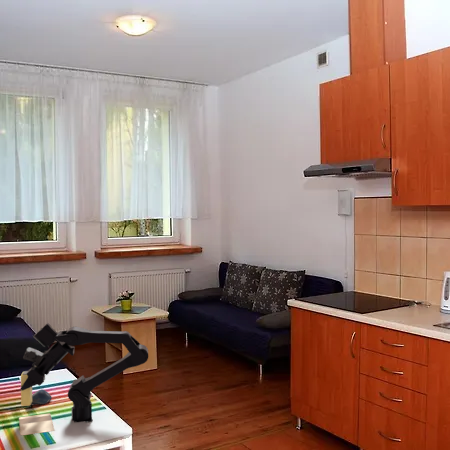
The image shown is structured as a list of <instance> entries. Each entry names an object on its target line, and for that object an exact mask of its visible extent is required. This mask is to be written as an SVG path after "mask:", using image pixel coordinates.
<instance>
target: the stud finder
mask: <svg viewBox="0 0 450 450" xmlns="http://www.w3.org/2000/svg"><path fill="white" fill-rule="evenodd" d="M28 371H29V370H25V371H22V373H21V375H20V388H21V387H22V385H23V384H24V382H25V381H26V379H27V378H28V376H27V372H28ZM32 395H33V386H32V387H30V388H27V389H25V390H21V389H20V402H21V403H20V404H21V405H20V406H21V407H26V406H28V407H29V406H32V405H31V403H32Z"/></svg>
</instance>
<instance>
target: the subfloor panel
mask: <svg viewBox="0 0 450 450" xmlns="http://www.w3.org/2000/svg"><path fill="white" fill-rule="evenodd" d="M18 421H19V429H20V430H19V432H20V436H27V435H33V434H40V433H47V432H49V433H50V432H55V431H56V430H55V427H54V423H53V420H52V415H51V413H42V414H36V415H27V416H21V417H18Z"/></svg>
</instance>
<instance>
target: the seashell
mask: <svg viewBox="0 0 450 450" xmlns="http://www.w3.org/2000/svg"><path fill="white" fill-rule="evenodd" d="M52 399H53V396H52V395H51V394H50V393H49V392H48V391H46V390H45V389H39V390H37V391H35V392H34V393H32V403H31V405H30V406H36V405H45V404H47V403H48V402H50V401H51V400H52Z"/></svg>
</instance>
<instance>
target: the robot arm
mask: <svg viewBox="0 0 450 450" xmlns="http://www.w3.org/2000/svg"><path fill="white" fill-rule="evenodd" d="M32 338H34V339H35V340H36V342H37V341H38V342H39V344H41V345H42V347H44V348H49V347H50V348H49V349H47V350H44V352H41V351H39V350H37V349H36V348H33V347H27V348H26V350H25V352H24V355H23V357H22V358H23V360H25V361H26V360H27V361H30V362H31V363H32V365H31V368H30V369H28V370H27V371H28V372H27V376H28V378H27V379H26V381H25V382H24V384H23V385H22V387H21V386H20V391H21V390H25V389H27V388H30V387H32V388H33V387H35V386H37V385H38V386H39V387H41V385H42V384H43V383H44V382H45V380H46V376H48V375H49V374H50V371H52V369H54V367H56V366H57V365H58V364H59V362H60V361H61V360H62V359H63V358H65V356H66V355H67V354H70V356H73V357H74V354H75V348H76V347H75V346H82V345H86V344H90V343H91V344H92V343H97V344H122V345H123V346H124V347H125V349H126V350H127V351H128V352H127V354H125V355H124V356H123V357H122V358H120V359H119V360H117V361H115V362H113V363H112V364H110V365H108V366H107V367H105V368H103V369H102V370H99V371H98V372H95V374H92V375H91V376H89V377H85V375H81V376H80V377H79V378H76V379H73V381H72V383H71V384H70V385H69V388H68V391H67V397H68V399H69V401H71V402H72V404H73V405H72V407H71V420H72V421H73V423H74V424H75V423H81V422H82V423H83V422H84V423H89V422H93V421H94V420H93V410H92V409H93V408H92V407H93V405H92V404H93V403H92V400H91V398H92V391H93V390H94V389H95V388H97V387H99V386H100V385H102V384H103V383H105V382H107V381H109V380H111V379H112V378H114V377H115V376H118V375H119V374H120V373H122V372H124V371H127V369H130V368H131V369H132V368H135V367H136V368H137V367H138V366H141V365H143V364H145V363H147V361H148V360H149V349H148V347H147V346H146V345H145V344H142V343H140V341H138V340H137V339H136V338H135V337H134V336H133V335H132V334H131V333H130V332H129V331H128V330H124V331H116V330H115V331H113V330H112V331H111V330H110V331H109V330H108V331H107V330H91V329H88V328H84V327H79V326H70V327H68V329H66V330H61V331H57V330H56V329H54V328H53V327H52V325H51V324H50V323H49V322H47V323H46V324H44V325H43V327H41V328H39V330H38V331H37V332H36V333H35V334H34V335H33V337H32Z"/></svg>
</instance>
